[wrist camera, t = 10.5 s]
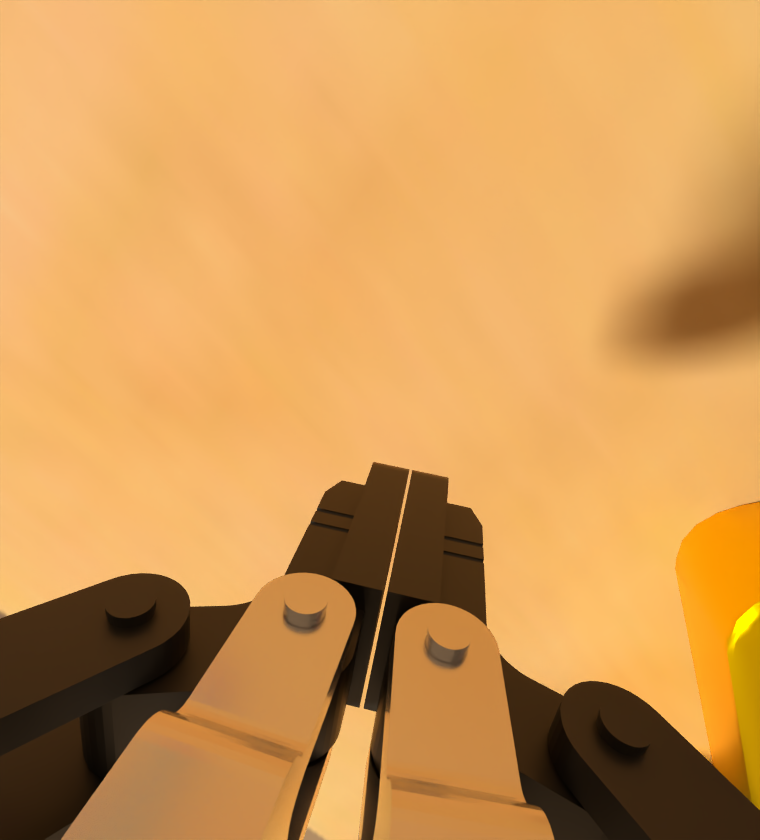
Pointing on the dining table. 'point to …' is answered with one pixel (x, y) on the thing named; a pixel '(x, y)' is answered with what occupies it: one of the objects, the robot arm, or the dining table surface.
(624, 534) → the dining table surface
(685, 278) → the dining table surface
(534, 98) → the dining table surface
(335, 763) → the dining table surface
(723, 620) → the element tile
